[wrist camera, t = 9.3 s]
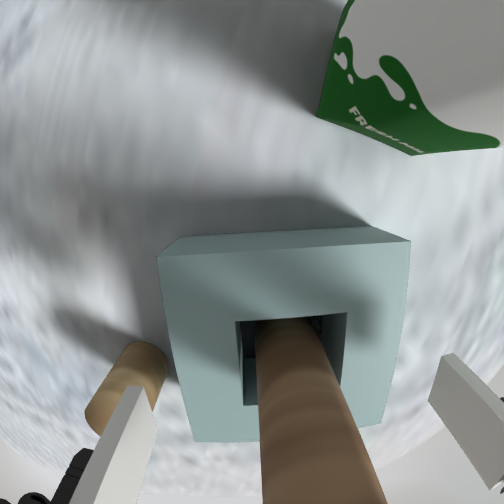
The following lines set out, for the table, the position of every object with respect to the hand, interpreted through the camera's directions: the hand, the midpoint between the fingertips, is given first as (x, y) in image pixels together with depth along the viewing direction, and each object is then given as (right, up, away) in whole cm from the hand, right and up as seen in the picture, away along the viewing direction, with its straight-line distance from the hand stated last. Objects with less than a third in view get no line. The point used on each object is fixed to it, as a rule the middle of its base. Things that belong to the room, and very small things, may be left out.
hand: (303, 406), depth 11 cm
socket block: (0, +2, +8) cm, 8 cm away
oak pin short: (-10, -2, +9) cm, 13 cm away
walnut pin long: (0, +2, +8) cm, 8 cm away
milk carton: (+6, +17, +5) cm, 19 cm away
